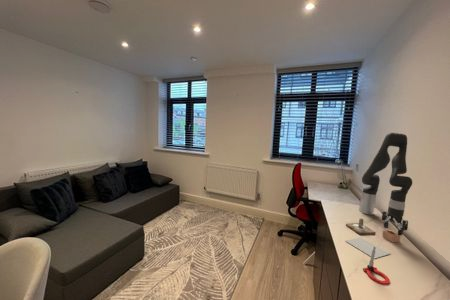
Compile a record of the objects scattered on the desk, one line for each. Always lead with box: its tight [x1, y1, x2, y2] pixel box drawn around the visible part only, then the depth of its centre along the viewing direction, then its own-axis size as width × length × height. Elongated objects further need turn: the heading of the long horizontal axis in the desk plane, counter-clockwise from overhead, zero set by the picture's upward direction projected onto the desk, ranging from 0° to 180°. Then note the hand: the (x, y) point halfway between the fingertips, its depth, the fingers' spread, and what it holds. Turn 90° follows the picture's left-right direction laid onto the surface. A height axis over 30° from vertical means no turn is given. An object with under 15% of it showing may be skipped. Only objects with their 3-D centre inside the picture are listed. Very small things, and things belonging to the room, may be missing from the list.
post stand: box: [345, 218, 376, 236], centre depth 134 cm, size 12×12×8 cm
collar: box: [381, 229, 402, 243], centre depth 124 cm, size 6×6×4 cm
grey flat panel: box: [345, 237, 391, 259], centre depth 112 cm, size 23×25×1 cm
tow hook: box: [362, 247, 391, 286], centre depth 90 cm, size 8×13×9 cm
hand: (392, 231), depth 124 cm, fingers open, 8 cm apart
